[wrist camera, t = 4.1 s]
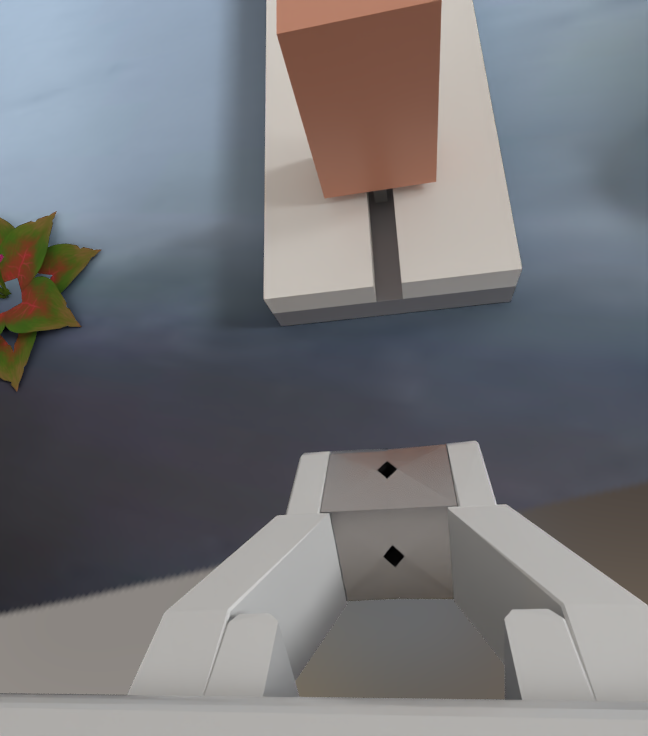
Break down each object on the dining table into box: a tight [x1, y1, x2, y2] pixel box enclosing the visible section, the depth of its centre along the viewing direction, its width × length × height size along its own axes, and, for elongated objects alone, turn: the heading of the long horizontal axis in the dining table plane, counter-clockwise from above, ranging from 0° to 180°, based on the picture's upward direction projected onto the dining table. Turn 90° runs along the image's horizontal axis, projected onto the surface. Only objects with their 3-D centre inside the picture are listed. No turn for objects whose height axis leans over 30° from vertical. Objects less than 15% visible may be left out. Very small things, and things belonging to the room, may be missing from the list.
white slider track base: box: [264, 0, 522, 326], centre depth 28 cm, size 11×32×3 cm, turn 2°
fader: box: [276, 0, 442, 203], centre depth 20 cm, size 5×3×10 cm, turn 92°
